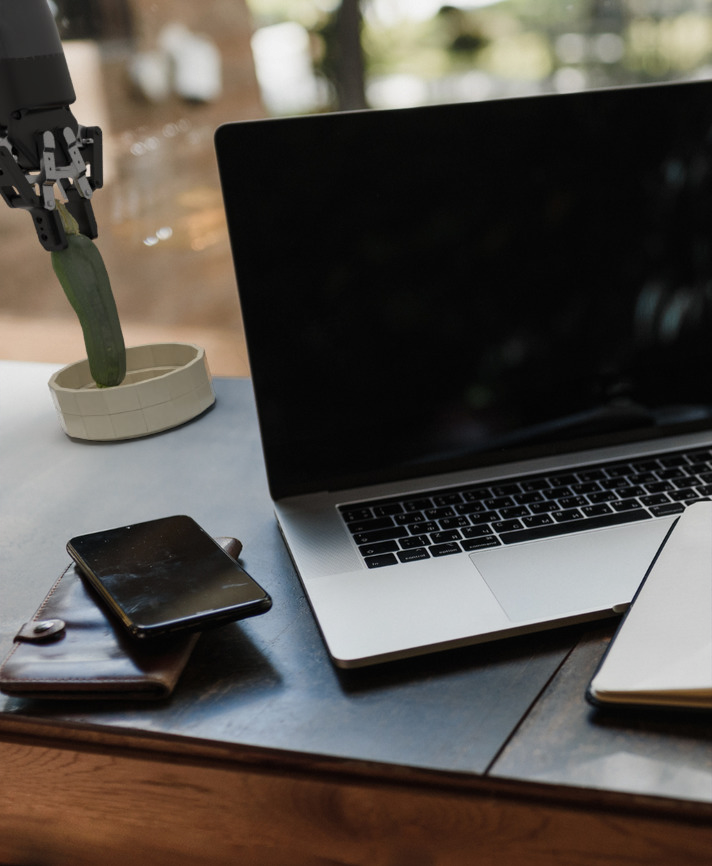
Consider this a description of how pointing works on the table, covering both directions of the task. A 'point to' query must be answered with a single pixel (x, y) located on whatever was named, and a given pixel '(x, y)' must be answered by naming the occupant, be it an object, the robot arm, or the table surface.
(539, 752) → the table surface
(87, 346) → the vegetable
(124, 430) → the bowl
